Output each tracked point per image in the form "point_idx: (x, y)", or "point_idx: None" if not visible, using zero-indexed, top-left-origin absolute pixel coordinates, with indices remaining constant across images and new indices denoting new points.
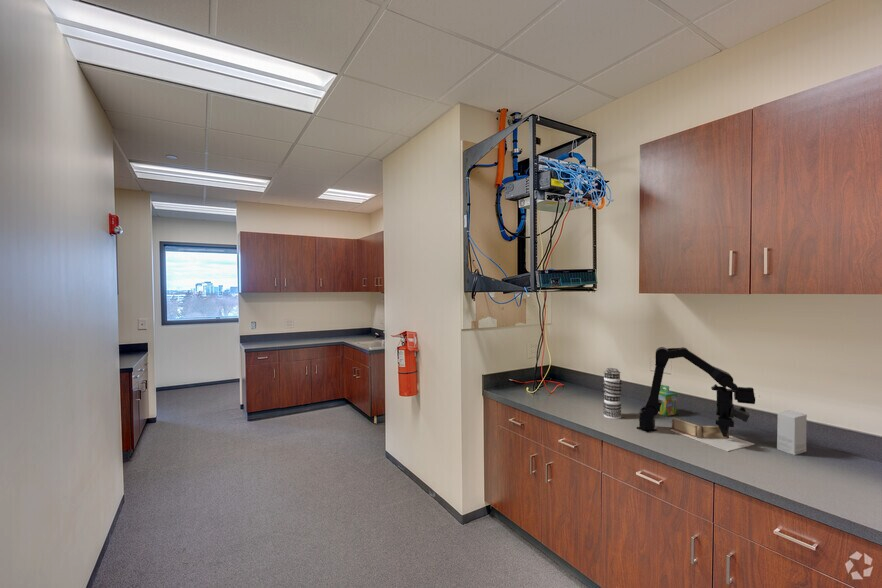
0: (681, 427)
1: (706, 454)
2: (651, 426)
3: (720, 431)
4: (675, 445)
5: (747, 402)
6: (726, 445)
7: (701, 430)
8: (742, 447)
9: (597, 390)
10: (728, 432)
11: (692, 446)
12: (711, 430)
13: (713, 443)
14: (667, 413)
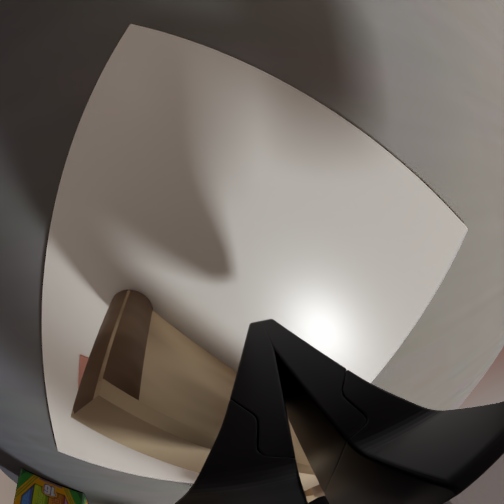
0: None
1: (496, 296)
2: (326, 498)
3: (209, 404)
4: (436, 397)
5: None
6: (386, 259)
7: None
8: (349, 125)
9: None
10: (126, 337)
11: (436, 369)
12: None
13: (382, 336)
14: (74, 499)
